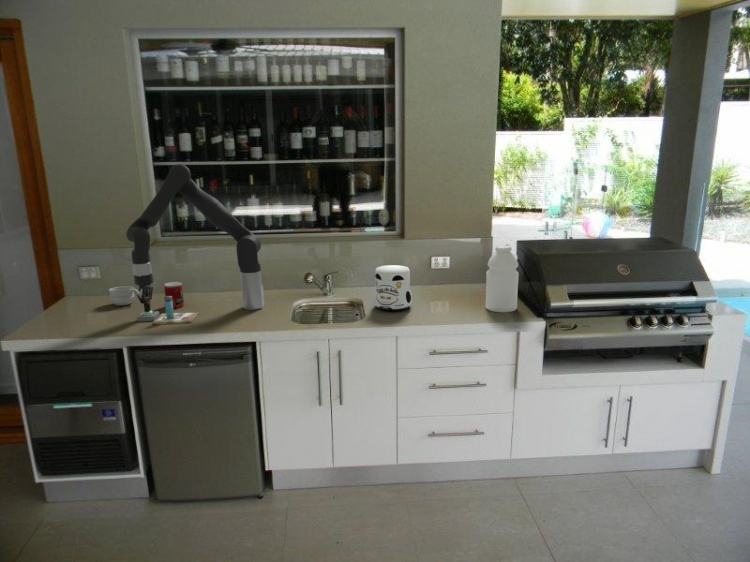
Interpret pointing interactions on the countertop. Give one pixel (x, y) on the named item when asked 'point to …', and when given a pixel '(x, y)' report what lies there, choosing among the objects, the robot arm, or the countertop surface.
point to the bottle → (502, 281)
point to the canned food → (175, 293)
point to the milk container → (392, 287)
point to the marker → (169, 307)
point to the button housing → (148, 317)
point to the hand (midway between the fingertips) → (147, 311)
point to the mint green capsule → (148, 313)
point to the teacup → (123, 295)
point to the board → (176, 318)
